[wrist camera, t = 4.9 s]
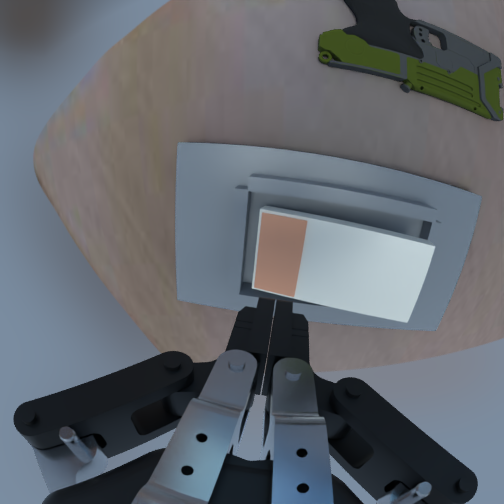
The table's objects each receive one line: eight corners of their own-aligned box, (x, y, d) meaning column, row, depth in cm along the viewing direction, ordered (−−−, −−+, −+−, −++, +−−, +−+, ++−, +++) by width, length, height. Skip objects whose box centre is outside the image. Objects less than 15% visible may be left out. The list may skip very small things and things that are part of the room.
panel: (470, 192, 19) (494, 202, 15) (429, 319, 24) (442, 342, 20) (187, 142, 21) (166, 142, 17) (184, 289, 27) (169, 311, 23)
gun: (480, 10, 10) (492, 128, 16) (314, -46, 12) (316, 78, 18) (492, 5, 8) (507, 129, 14) (316, -59, 10) (320, 71, 16)
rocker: (430, 240, 16) (435, 247, 15) (405, 314, 18) (407, 324, 17) (265, 205, 19) (259, 209, 18) (256, 281, 21) (251, 289, 20)
